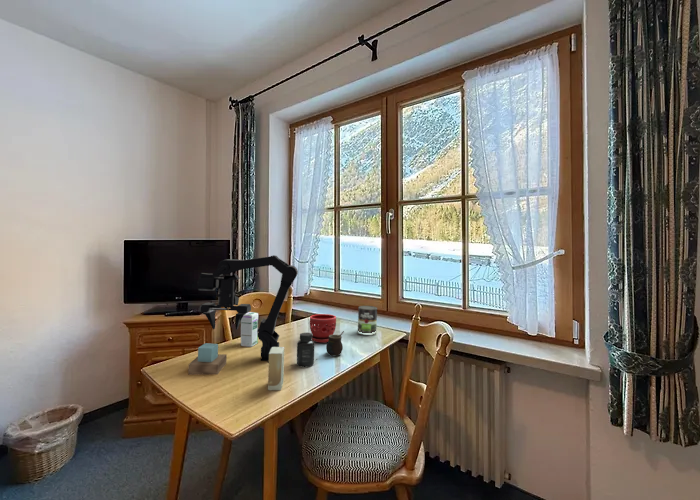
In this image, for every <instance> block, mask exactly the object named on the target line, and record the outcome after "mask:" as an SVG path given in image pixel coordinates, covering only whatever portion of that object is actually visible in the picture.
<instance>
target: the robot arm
mask: <svg viewBox="0 0 700 500" xmlns="http://www.w3.org/2000/svg"><path fill="white" fill-rule="evenodd" d="M268 266H272V267H274V269H275V270H276V271H278V272H279V273H280V274H281V278H280V285H279V288H278V290H277V293H276V295H275V298H274V300H273V303H272V305H271V308H270V310H269V314H268V316H267V317H266V319H265V318H262V319H261V321H260V323H259V326H258V330H257V332H258V341H260V342H261V343H262V346H261V347H260V361H264V362H266V361H267V362H269V352H270V350H271V348H272V347H280V342H279V338H280V334H278V333H277V331H276V325H277V318H278V316H279V314H280V312H281V309H282V306H283V304H284V302H285V299H286V296H287V294H288V291H289V289H290V287H291V286H292V284H293V282H294V281H295V279H296V277H297V276H298V273H299V270H298V268H297V267H296V266H294V265H290V264H288V263H287V262H285V261H284V260H282V259H281V258H279V257H278V255H270V256H264V257H262V256H261V257H256V258H247V259H231V258H230V259H229V258H228V259H227V258H226V259H224V260H223V259H222V260H221V261H219V263H218V264H217V267H216V269H215V271H214V272H213V273H205V272H201V273H200V274H199V278H198V280H197V283H196V285H197V290H198V291H216V289H218V293H217V294H216V296H217V298H218V303H217V304H216V302H205V303H203V304H201V305H199V313H202V314H203V315H205V316H206V319H207V320H208V322H209V324H210V326H211V328H212V330H215V329H216V313H217V311H235V312H237V313H236V314H235V324H234V325H235V330H236V331H237V330H239V326H240V325H241V319H242V317H243V315H245V314H246V313H248V312H252V306H251V303H240V304H239V301H240V297H238V296H236V291H235V281H238V280H240V277H239V276H238V274H237V273H235V272H239V271H241V270H245V269H246V270H247V269H255V268H261V267H268ZM232 273H233V274H232ZM230 274H231V275H230ZM221 276H224V277H221Z"/></svg>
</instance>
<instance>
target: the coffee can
mask: <svg viewBox="0 0 700 500" xmlns="http://www.w3.org/2000/svg"><path fill="white" fill-rule="evenodd" d="M357 315H358V316H357V317H358V319H357V322H358V323H357V332H358V331H359V332H362V333H372V332H375V331H376V332H377V326H378V324H377V320H378V319H377V318H378V307H376V306H373V305H360V306H358V314H357Z"/></svg>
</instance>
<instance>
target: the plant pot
mask: <svg viewBox="0 0 700 500" xmlns="http://www.w3.org/2000/svg"><path fill="white" fill-rule="evenodd" d="M336 326H337V316H336V315H334V314H329V313H319V314H318V313H317V314H312V315H310V316H309V330H310V333H311V334H312V339H311V340H313V341H314V343H321V344H322V343H326V344H327V342H328V340H329V339H328V338H329V335H335V332H336Z"/></svg>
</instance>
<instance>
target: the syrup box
mask: <svg viewBox="0 0 700 500" xmlns="http://www.w3.org/2000/svg"><path fill="white" fill-rule="evenodd" d="M258 329H259V312H254V311H250V312H248V313H246V314H245V315H243V317H242V319H241V322H240V346H242V347H248V348H249V347H250V348H252V347H253V346H255V345H256V344H258V343H259V338H258V332H257V330H258Z"/></svg>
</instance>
